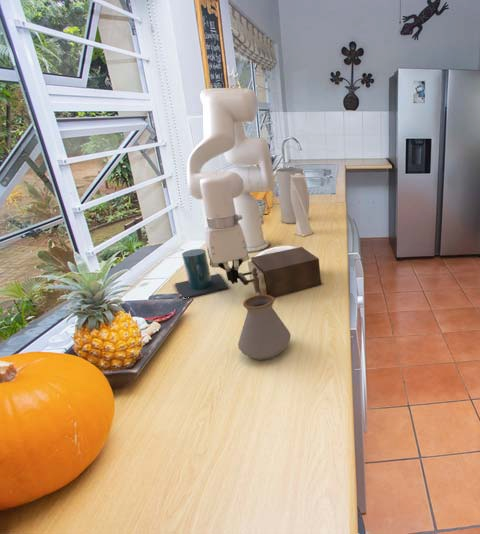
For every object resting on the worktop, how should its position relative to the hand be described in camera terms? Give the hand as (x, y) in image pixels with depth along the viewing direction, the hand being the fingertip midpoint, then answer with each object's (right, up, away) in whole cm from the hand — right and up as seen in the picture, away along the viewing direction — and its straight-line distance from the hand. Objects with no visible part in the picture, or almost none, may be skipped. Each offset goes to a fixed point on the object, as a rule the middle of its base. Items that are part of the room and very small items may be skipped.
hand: (234, 281), depth 114 cm
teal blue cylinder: (-14, -1, +7) cm, 15 cm away
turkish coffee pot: (+16, -13, -20) cm, 29 cm away
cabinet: (+13, -1, +9) cm, 16 cm away
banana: (+6, +6, +26) cm, 28 cm away
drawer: (+10, -1, +7) cm, 12 cm away
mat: (-14, -2, +8) cm, 16 cm away
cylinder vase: (-3, +27, +79) cm, 84 cm away
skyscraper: (+7, +19, +58) cm, 62 cm away
